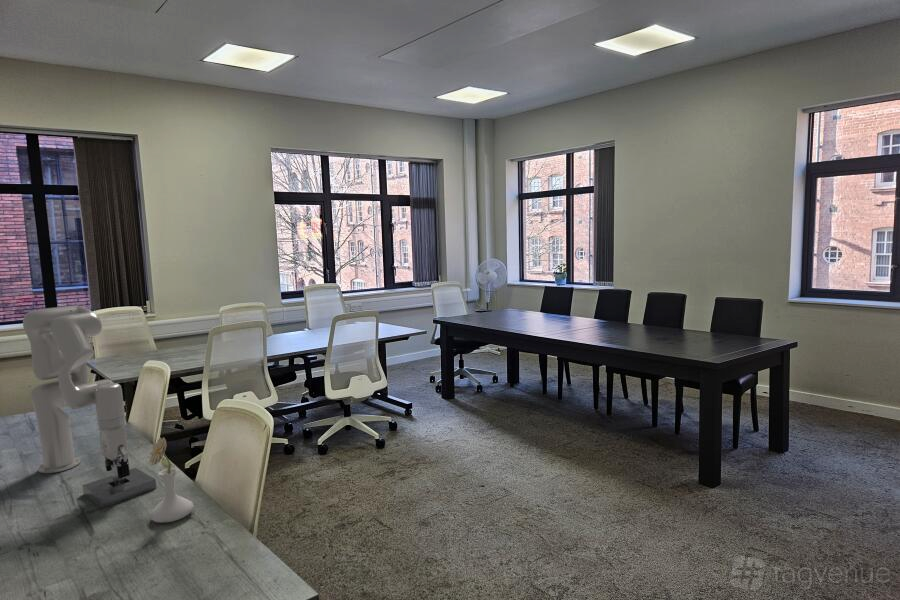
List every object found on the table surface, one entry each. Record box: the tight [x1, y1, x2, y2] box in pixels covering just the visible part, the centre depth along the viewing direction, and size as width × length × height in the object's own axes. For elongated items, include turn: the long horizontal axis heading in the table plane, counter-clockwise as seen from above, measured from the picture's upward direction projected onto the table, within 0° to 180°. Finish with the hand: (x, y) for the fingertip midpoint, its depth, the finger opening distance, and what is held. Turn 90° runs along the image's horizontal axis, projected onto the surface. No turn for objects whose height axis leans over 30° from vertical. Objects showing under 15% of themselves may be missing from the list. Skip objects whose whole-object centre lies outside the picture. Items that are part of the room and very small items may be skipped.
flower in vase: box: [148, 437, 195, 524], centre depth 158 cm, size 13×11×25 cm
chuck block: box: [82, 467, 157, 509], centre depth 178 cm, size 16×16×3 cm
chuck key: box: [104, 459, 125, 487], centre depth 178 cm, size 3×6×11 cm, turn 141°
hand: (118, 473), depth 178 cm, fingers open, 9 cm apart
